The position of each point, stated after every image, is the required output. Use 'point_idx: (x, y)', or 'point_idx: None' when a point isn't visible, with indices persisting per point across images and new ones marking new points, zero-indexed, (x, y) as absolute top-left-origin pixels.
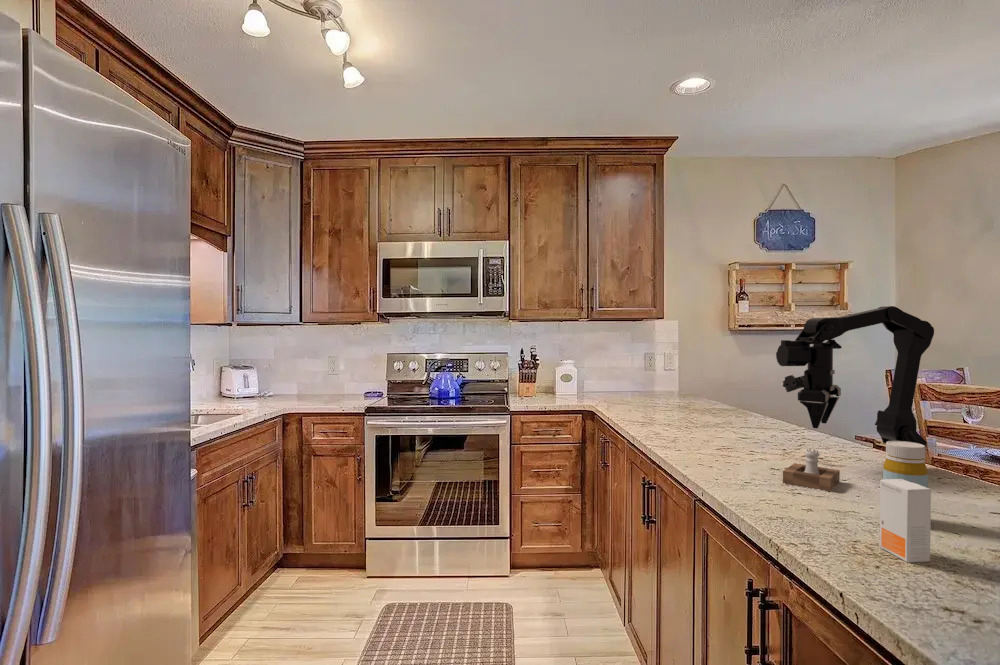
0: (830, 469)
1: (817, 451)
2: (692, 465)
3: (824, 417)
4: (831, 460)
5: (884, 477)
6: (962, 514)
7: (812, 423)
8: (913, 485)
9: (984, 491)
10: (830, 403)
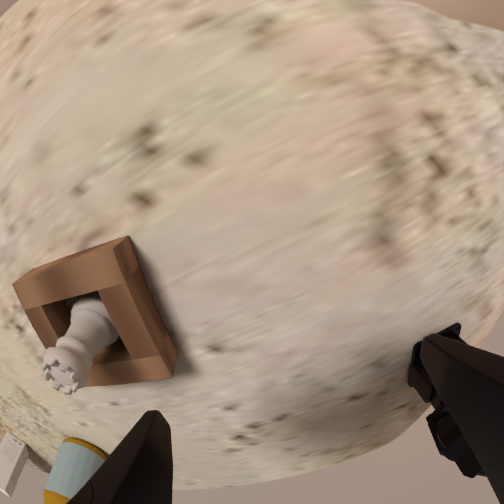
0: (152, 361)
1: (69, 392)
2: (10, 23)
3: (445, 377)
4: (438, 206)
5: (48, 480)
6: (185, 478)
7: (131, 436)
8: (2, 491)
9: (350, 455)
10: (501, 470)
